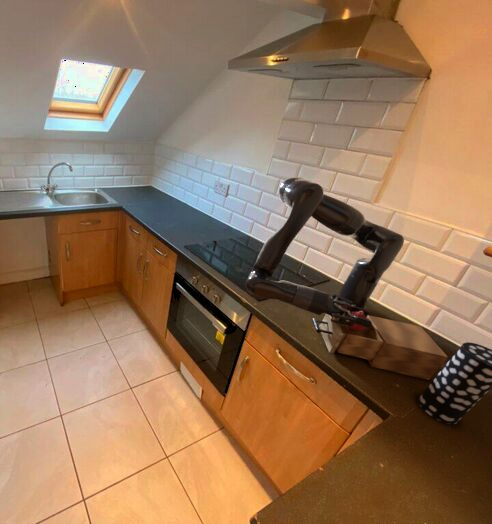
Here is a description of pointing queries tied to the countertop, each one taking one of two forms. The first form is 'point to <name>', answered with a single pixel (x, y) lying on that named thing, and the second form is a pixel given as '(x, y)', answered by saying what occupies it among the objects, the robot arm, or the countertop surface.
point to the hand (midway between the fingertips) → (368, 319)
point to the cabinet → (406, 349)
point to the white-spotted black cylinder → (459, 384)
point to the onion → (355, 326)
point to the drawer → (349, 339)
